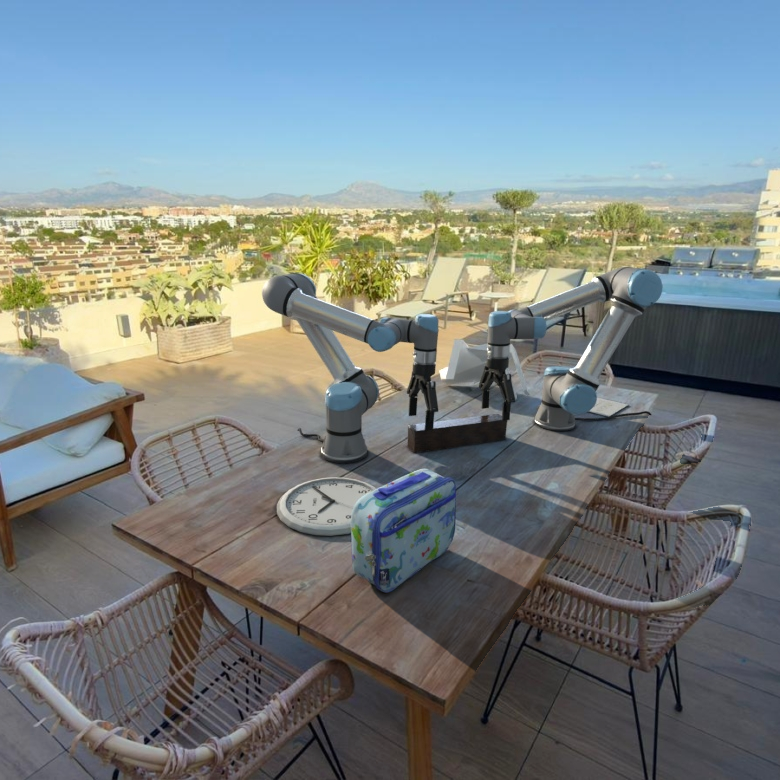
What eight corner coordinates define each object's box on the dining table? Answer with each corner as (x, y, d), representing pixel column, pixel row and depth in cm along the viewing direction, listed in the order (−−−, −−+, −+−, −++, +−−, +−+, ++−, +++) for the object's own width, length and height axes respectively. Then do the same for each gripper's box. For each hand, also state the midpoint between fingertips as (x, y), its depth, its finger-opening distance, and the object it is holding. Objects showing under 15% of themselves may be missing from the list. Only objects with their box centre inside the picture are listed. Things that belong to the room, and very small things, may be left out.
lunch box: (379, 605, 105) (380, 513, 99) (344, 580, 112) (343, 493, 106) (459, 552, 123) (464, 471, 116) (425, 533, 130) (428, 456, 124)
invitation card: (608, 416, 214) (573, 407, 224) (608, 416, 214) (573, 408, 224) (628, 404, 229) (594, 396, 238) (628, 405, 229) (594, 397, 238)
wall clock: (392, 527, 129) (268, 531, 127) (391, 533, 130) (269, 537, 127) (383, 473, 158) (282, 475, 155) (383, 478, 158) (282, 480, 156)
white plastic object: (461, 429, 252) (437, 405, 227) (444, 352, 274) (420, 323, 250) (535, 404, 240) (518, 377, 215) (510, 326, 262) (492, 293, 237)
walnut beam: (496, 433, 195) (498, 413, 192) (505, 439, 189) (507, 419, 187) (407, 446, 182) (408, 424, 180) (414, 453, 177) (415, 431, 174)
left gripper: (399, 353, 181) (396, 410, 188) (430, 373, 159) (425, 437, 166) (419, 352, 184) (415, 409, 190) (452, 371, 162) (446, 435, 168)
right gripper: (470, 350, 191) (468, 404, 198) (509, 365, 169) (505, 427, 175) (488, 348, 194) (486, 402, 200) (528, 363, 172) (524, 423, 178)
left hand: (420, 422), depth 178 cm, fingers open, 13 cm apart
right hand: (495, 414), depth 188 cm, fingers open, 13 cm apart
